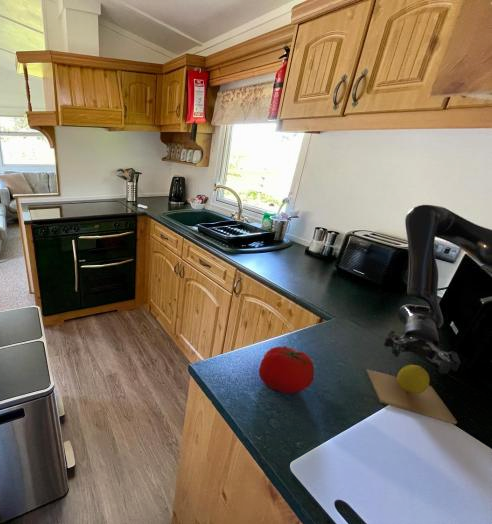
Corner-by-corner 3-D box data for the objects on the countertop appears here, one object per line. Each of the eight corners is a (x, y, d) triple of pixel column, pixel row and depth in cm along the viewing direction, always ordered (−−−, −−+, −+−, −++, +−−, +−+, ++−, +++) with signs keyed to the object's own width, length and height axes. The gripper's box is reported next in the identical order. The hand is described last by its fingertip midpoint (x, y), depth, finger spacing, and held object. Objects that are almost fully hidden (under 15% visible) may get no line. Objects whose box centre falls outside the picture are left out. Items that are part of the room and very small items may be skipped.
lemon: (388, 387, 73) (400, 361, 70) (399, 381, 75) (410, 356, 72) (415, 404, 68) (429, 377, 65) (425, 396, 71) (439, 370, 68)
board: (430, 388, 75) (431, 385, 74) (456, 424, 64) (457, 422, 64) (365, 371, 79) (366, 368, 79) (380, 402, 69) (381, 399, 69)
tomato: (247, 370, 77) (255, 337, 73) (291, 369, 78) (301, 337, 75) (268, 404, 66) (278, 368, 63) (319, 402, 68) (332, 367, 64)
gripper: (392, 315, 86) (388, 336, 74) (460, 335, 77) (467, 363, 66) (384, 336, 88) (378, 360, 77) (448, 358, 80) (453, 389, 68)
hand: (419, 361), depth 71 cm, fingers open, 8 cm apart
